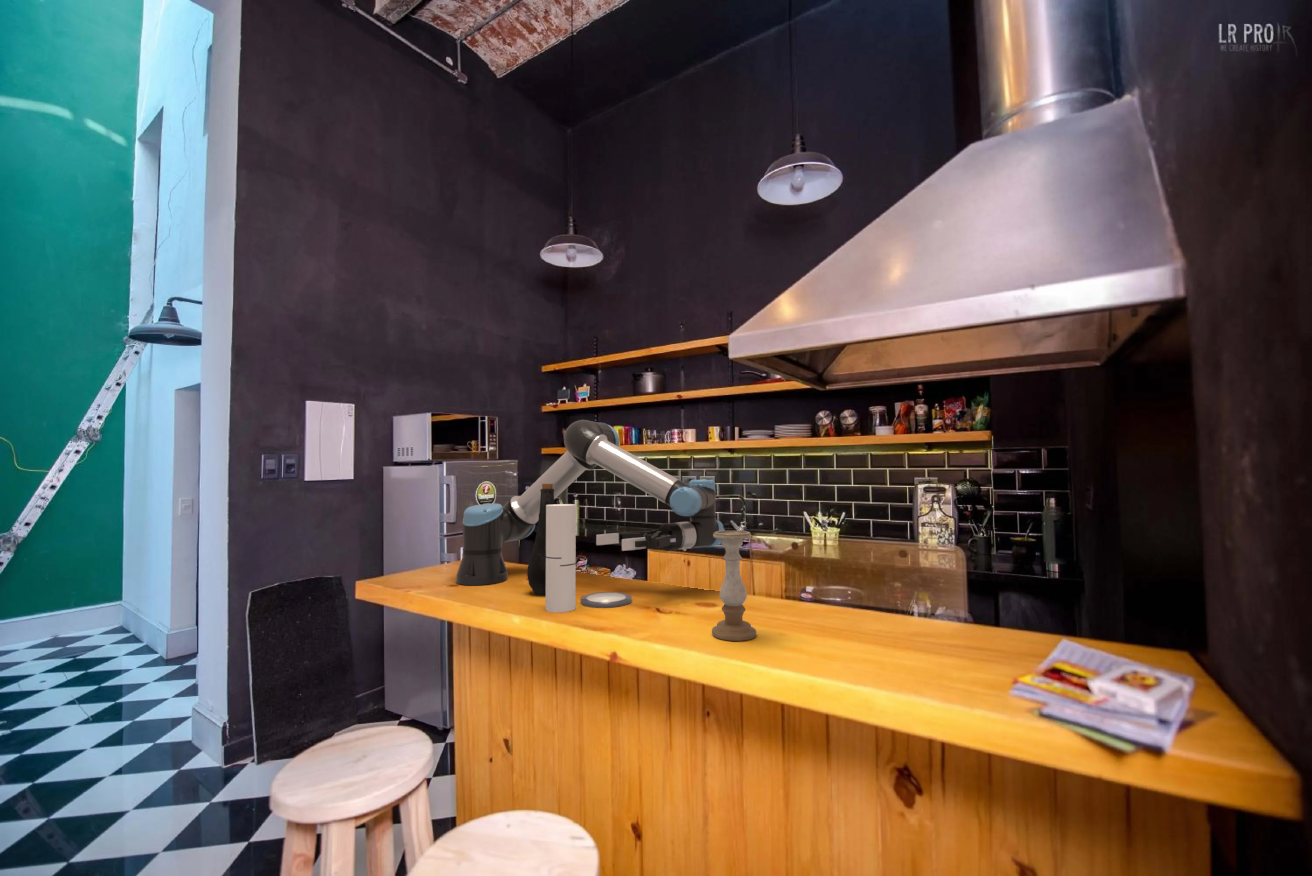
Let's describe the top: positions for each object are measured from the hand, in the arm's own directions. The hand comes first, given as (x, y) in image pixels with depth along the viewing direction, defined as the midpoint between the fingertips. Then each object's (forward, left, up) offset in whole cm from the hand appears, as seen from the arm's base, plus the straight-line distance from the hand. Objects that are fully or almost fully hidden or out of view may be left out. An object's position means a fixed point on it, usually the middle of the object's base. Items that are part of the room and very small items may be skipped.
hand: (609, 542), depth 135 cm
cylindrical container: (-1, -13, -15) cm, 20 cm away
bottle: (-20, -9, -15) cm, 27 cm away
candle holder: (+39, +7, -15) cm, 43 cm away
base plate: (-1, 0, -15) cm, 15 cm away
